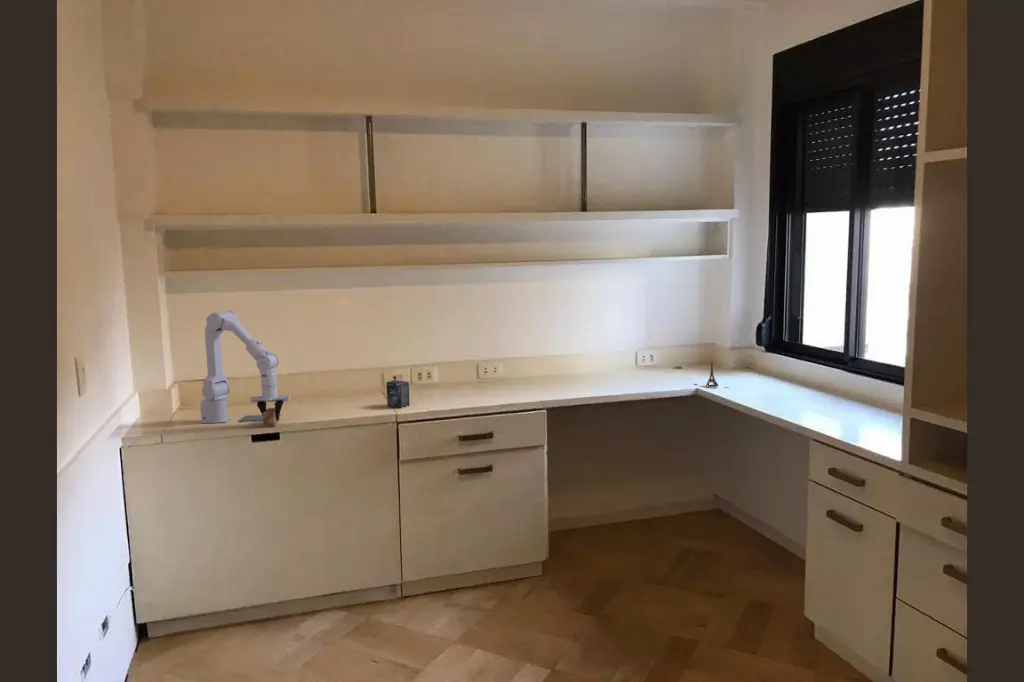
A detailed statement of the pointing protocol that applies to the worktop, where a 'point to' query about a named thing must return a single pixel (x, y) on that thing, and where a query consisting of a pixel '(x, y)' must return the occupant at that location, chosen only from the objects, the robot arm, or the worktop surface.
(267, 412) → the walnut block
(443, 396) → the worktop surface
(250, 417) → the mat
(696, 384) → the eiffel tower figurine
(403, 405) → the box
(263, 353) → the robot arm
